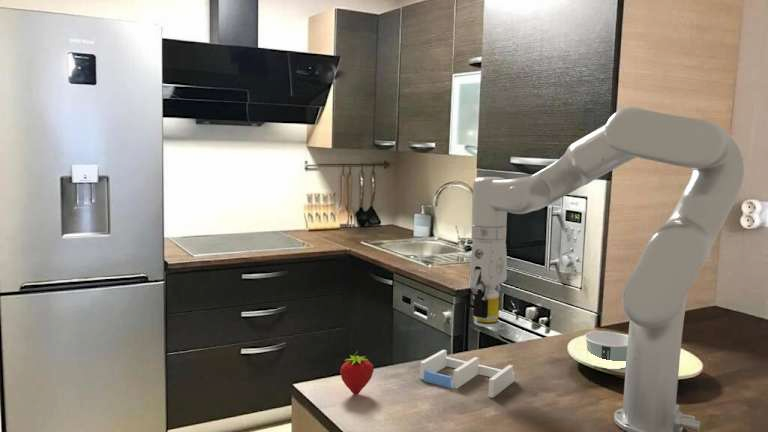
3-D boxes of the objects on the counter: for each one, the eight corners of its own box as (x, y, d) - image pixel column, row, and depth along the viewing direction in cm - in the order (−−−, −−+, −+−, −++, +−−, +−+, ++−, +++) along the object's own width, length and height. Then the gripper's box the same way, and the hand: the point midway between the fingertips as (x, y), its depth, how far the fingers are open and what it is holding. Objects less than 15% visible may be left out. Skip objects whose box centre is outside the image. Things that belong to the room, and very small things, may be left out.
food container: (635, 374, 155) (637, 348, 154) (583, 368, 158) (585, 342, 157) (630, 358, 167) (632, 333, 166) (582, 353, 170) (583, 329, 169)
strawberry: (378, 396, 139) (379, 351, 137) (347, 402, 135) (347, 356, 134) (365, 386, 144) (366, 343, 142) (334, 392, 140) (335, 348, 139)
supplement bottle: (502, 326, 142) (504, 282, 141) (481, 328, 140) (482, 284, 139) (490, 319, 147) (491, 277, 146) (469, 322, 145) (470, 279, 144)
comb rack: (514, 381, 149) (514, 364, 148) (491, 398, 138) (492, 381, 138) (444, 364, 159) (445, 348, 158) (418, 379, 148) (418, 362, 148)
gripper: (488, 239, 132) (485, 325, 134) (519, 230, 146) (517, 308, 148) (455, 236, 136) (453, 319, 138) (489, 227, 150) (487, 303, 153)
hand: (486, 313), depth 143 cm, fingers closed on supplement bottle, 5 cm apart
